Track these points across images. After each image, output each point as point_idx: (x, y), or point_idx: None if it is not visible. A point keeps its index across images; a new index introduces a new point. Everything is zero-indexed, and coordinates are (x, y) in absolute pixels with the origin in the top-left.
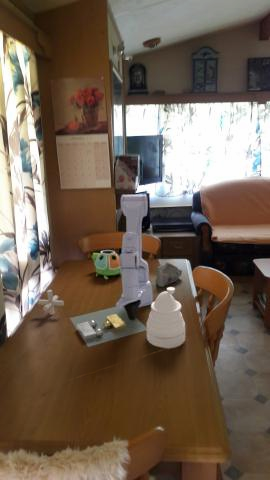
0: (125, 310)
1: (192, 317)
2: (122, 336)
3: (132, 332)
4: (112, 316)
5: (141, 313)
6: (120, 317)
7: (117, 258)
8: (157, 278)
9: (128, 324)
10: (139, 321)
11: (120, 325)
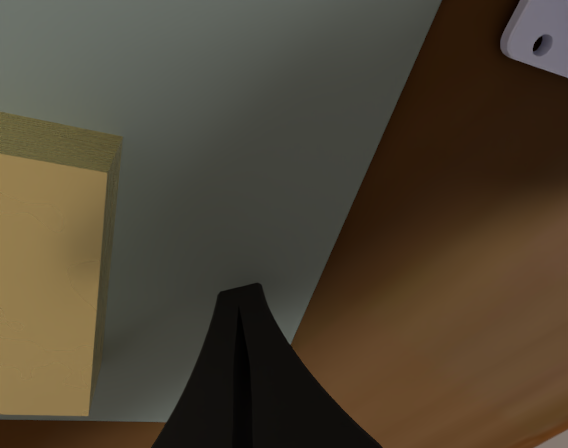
0: (390, 13)
1: (557, 421)
2: (13, 415)
3: (126, 408)
4: (7, 198)
5: (447, 205)
6: (192, 142)
7: None
8: None
9: (174, 311)
10: (294, 323)
11: (20, 404)
